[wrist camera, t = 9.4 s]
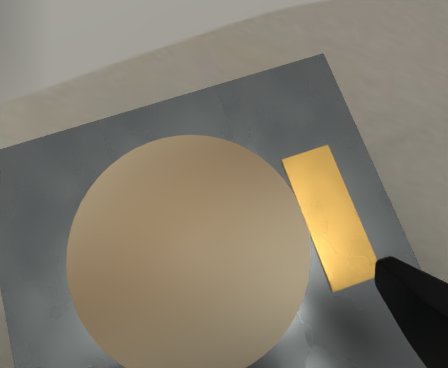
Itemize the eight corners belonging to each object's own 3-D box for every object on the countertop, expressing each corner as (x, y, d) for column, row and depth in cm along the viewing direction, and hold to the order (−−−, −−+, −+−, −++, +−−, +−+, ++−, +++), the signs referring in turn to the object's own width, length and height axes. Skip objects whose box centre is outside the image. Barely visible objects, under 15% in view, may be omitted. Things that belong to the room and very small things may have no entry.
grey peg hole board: (425, 352, 17) (469, 372, 14) (77, 488, 16) (43, 543, 13) (308, 82, 21) (324, 51, 18) (13, 172, 19) (-27, 155, 16)
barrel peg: (266, 259, 18) (360, 249, 6) (208, 320, 18) (183, 447, 5) (210, 201, 19) (193, 92, 7) (151, 258, 18) (15, 248, 6)
